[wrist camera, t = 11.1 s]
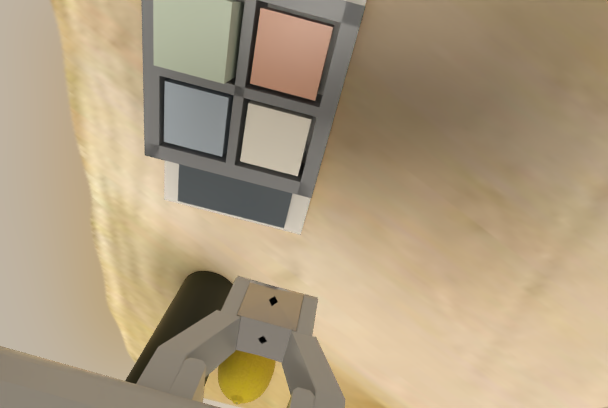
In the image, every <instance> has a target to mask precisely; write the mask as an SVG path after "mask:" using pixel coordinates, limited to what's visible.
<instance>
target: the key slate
mask: <svg viewBox="0 0 608 408" xmlns="http://www.w3.org/2000/svg"><path fill="white" fill-rule="evenodd" d="M233 97H234V95H231V94H227V93H224V92H220V91H216V90H212V89H208V88H205V87H201V86H197V85H193V84H189V83H186V82H182V81H178V80H174V79H168V80H166V81H165V94H164V142H167V143H171V144H175V145H179V146H183V147H186V148H190V149H194V150H198V151H202V152H206V153H210V154H213V155H217V156H221V157H222V156H223V155H224V154H225V153H226V152H227V148H228V140H229V131H230V123H231V114H232V106H233Z"/></svg>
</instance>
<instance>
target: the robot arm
mask: <svg viewBox="0 0 608 408" xmlns="http://www.w3.org/2000/svg"><path fill="white" fill-rule="evenodd" d="M317 303H318V298H317V297H313V296H309V295H306V294H302V293H299V292H295V291H291V290H287V289H283V288H279V287H274V286H271V285H268V284H264V283H261V282H258V281H254V280H250V279H247V278H244V277H240V276H238V277H237V278H236V279H235V281H234V284H233V286H232V288H231V290H230V292H229V294H228V297H227V299H226V301H225V303H224V305H223V307H222V310H221V311H219V310H216V311H214V312H213V313H211V314H210V315H208V316H207V317H205V318H203V319H202V320H200V321H199V322H197V323H195V324H194V325H192V326H191V327H189V328H187V329H186V330H184V331H183V332H181V333H179V334H178V335H176V336H175V337H173V338H171V339H170V340H168V341H167V342H165V343H163V344H162V345H160V346H159V347H158V348H157V350H156V351H155V353H154V355H153V356H152V358H151V360H150V361H149V363H148V365H147V366H146V368H145V370H144V371H143V373H142V375H141V376H140V378H139V380H138V381H137V383H136V384H134V383H130V382H127V381H123V380H119V379H116V378H112V377H109V376H105V375H101V374H98V373H94V372H91V371H87V370H84V369H80V368H77V367H73V366H69V365H66V364H62V363H59V362H55V361H51V360H48V359H44V358H41V357H37V356H34V355H30V354H27V353H23V352H20V351H16V350H13V349H9V348H5V347H2V346H0V408H220V407H216V406H212V405H208V404H205V403H203V395H204V384H205V377H206V376H207V375H209V374H210V373H211V372H212V371H213V370H214V369H215V368H217V367H218V366H219V365H220V364H221V363H222V362H223V361H225V360H226V359H227V358H228V357H229V356H230V355H231V354H233V353H234V352H235V350H239V351H243V352H247V353H251V354H255V355H259V356H262V357H265V358H269V359H272V360H275V361H279V362H282V366H283V370H284V373H285V376H286V380H287V383H288V387H289V390H290V394H291V398H290V400H289V403H288V406H287V408H345V398H344V396H343V393H342V391H341V389H340V387H339V385H338V383H337V381H336V379H335V376H334V374H333V372H332V370H331V368H330V366H329V364H328V361H327V359H326V357H325V355H324V353H323V351H322V349H321V347H320V344H319V342H318V340H317V338H316V337H313V336H312V334H313V328H314V322H315V315H316V309H317Z"/></svg>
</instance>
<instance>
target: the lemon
mask: <svg viewBox="0 0 608 408" xmlns="http://www.w3.org/2000/svg"><path fill="white" fill-rule="evenodd" d="M274 368H275V360H272V359H269V358H265V357H262V356H259V355H255V354H251V353H247V352H243V351H239V350H235V352H234V353H233V354H231V355H230V356H229V357H228V358H227V359H226V360H225V361H223V362H222V363H221V364H220V365H219V367H218V382H219V386H220V388H221V390H222V392H223V393H224V395H225V396H226V397H227V398H228V399H230V400H231V401H233V403H234V404H240V403H248V402H251V401H253V400H255V399H257V398H258V397H260V396H261V395H262V394H263V392H264V391H265V390H266V388H267V387H268V385H269V383H270V380H271V378H272V375H273V372H274Z"/></svg>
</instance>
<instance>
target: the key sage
mask: <svg viewBox="0 0 608 408" xmlns="http://www.w3.org/2000/svg"><path fill="white" fill-rule="evenodd" d="M243 7H244V2H241V1H237V0H153V50H154V66H158V67H162V68H166V69H169V70H173V71H177V72H181V73H185V74H188V75H192V76H196V77H200V78H203V79H207V80H211V81H215V82H219V83H222V84H225V83H226V82H228V81H229V80H231V79H232V78H234V77H235V75H236V67H237V58H238V50H239V41H240V33H241V24H242V16H243Z"/></svg>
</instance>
